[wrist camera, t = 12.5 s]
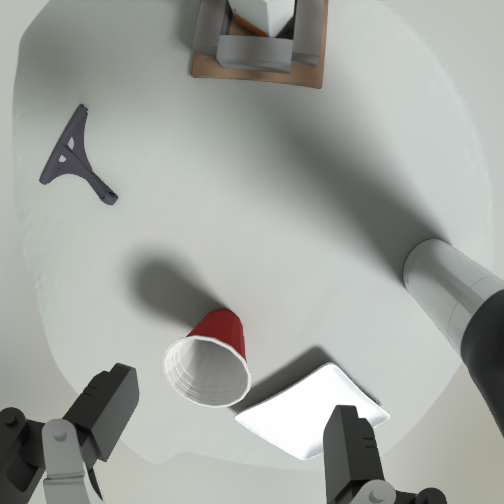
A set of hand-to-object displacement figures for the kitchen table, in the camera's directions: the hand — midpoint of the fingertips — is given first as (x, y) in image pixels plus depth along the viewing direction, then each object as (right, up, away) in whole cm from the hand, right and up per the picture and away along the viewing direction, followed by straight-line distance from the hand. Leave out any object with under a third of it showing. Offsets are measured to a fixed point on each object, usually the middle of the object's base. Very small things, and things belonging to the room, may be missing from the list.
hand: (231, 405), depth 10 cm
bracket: (-24, +18, +28) cm, 41 cm away
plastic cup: (-4, -5, +33) cm, 33 cm away
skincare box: (+2, +34, +18) cm, 39 cm away
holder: (+2, +35, +19) cm, 40 cm away
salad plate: (+12, -23, +37) cm, 46 cm away
